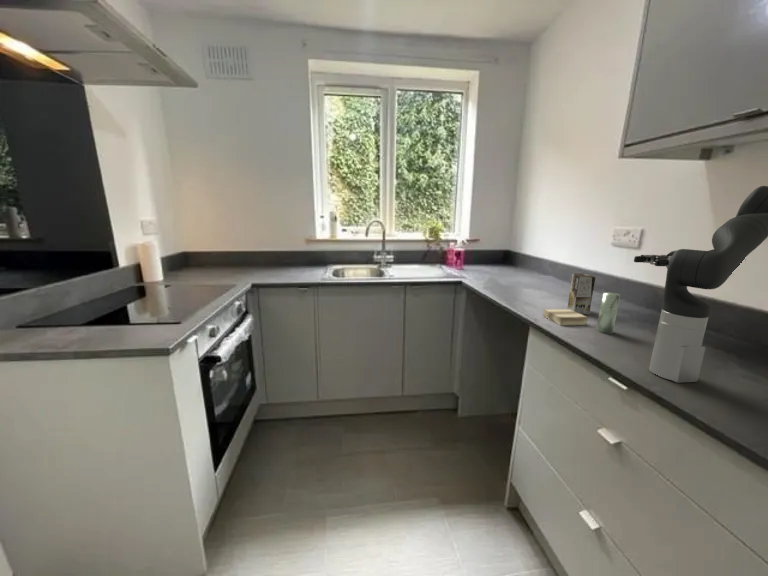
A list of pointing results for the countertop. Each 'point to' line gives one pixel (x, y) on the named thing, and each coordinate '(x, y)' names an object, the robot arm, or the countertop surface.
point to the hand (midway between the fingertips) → (645, 261)
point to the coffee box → (581, 293)
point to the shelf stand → (565, 317)
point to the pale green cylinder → (608, 312)
